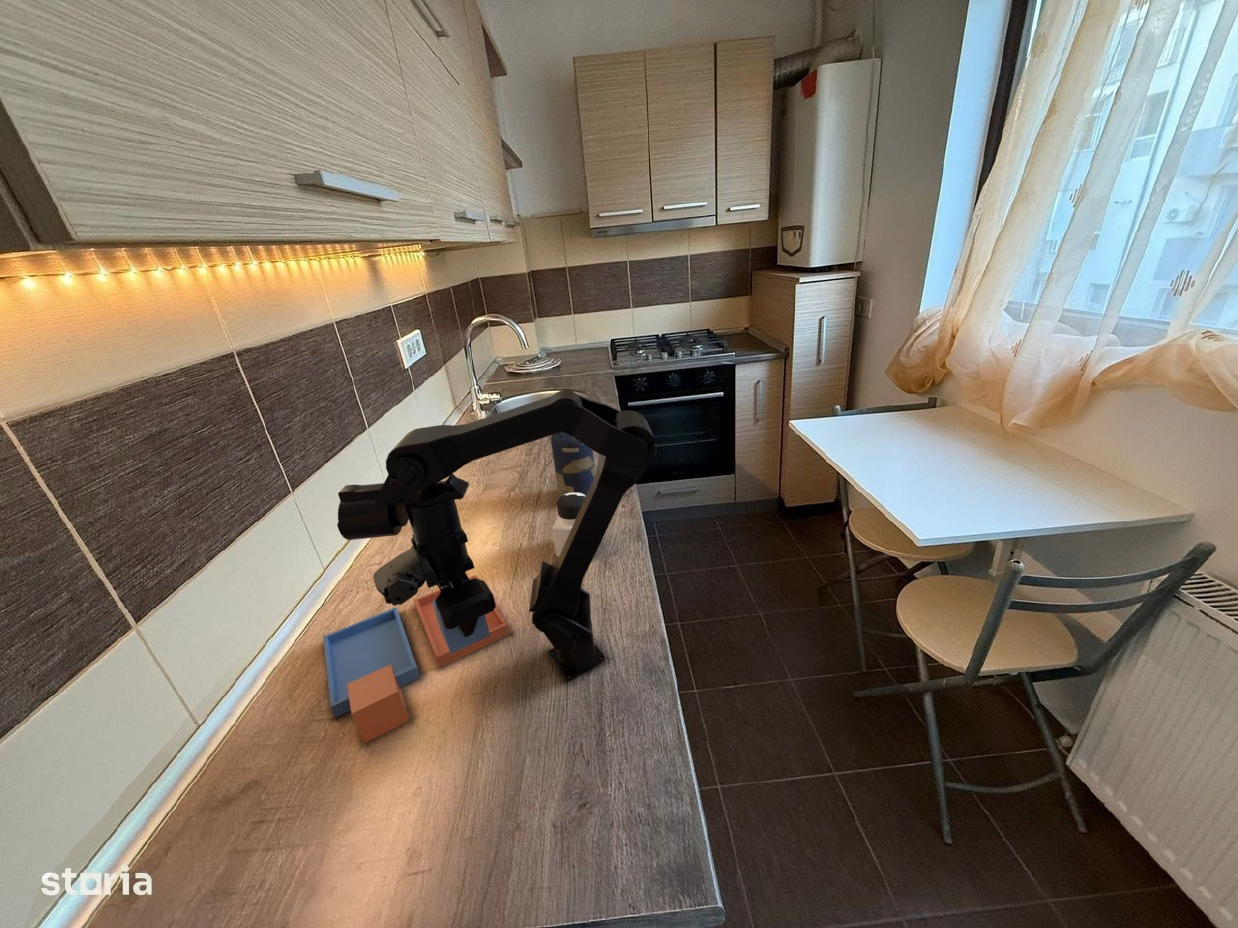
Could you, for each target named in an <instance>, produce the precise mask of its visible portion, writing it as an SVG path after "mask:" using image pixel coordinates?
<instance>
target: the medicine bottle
mask: <svg viewBox="0 0 1238 928" xmlns="http://www.w3.org/2000/svg"><path fill="white" fill-rule="evenodd" d="M585 497H586V496H585V495H584V494H582V493H567V494H564V495H562V496H561V497H560V496H559V497H558V498H557V500H556V509H557V516H558V517H557V519H556V520H555V523H554V524H553V526H552V528H551V529H552V536H553V541H554V542H553V543H554V549H555V554H556V557H557V558H558V557H559V556H560V553H561V551H562V549H563V547H564V544H565V542H566V540H567V538H568V535H569V533H570V531H571V529H572V526H573V524H574V522H575V520H576V518H577V515H578V513H579V511H580V509H581V506H582V504H583V502H584V500H585Z"/></svg>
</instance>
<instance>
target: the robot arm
mask: <svg viewBox="0 0 1238 928" xmlns="http://www.w3.org/2000/svg"><path fill="white" fill-rule="evenodd" d="M560 432H564V433H566V434H568V435H570V436H573V437H574V438H576V439H577V440H579V441H580V442H582V443H583V444H585V445H586V446H588V447H589V448H591V449H592V450H593V452H595V453H597V454H598V459H597V467H596V470H595V477H594V479H593V482H592V484H591V486H590V488H589V491H588V493H587V495H586V497H585V500H584V502H583V504H582V506H581V509H580V511H579V513H578V515H577V518H576V520H575V522H574V524H573V526H572V529H571V531H570V533H569V535H568V538H567V540H566V542H565V544H564V547H563V549H562V551H561V553H560V556H559V557H557V559H556V560H555V561H553V562H552V563H551V564H550V563H548V562H546V561H541V563H540V569H539V572H538V574H537V576H536V577H534V578H533V579H532V585H531V586H532V587H531V592H530V593H531V595H530V600H529V609H528V611H529V613H531V614H532V615H531V623H532V625H534V627H535V629H537V630H538V631H539V632H541V633H543V634H544V635H545V637H546V639H547V640H548V641H549V642H550V644H551V646H552V647H553V648H551V649H549V650H548V656H549V657H550V659H551V660H552V662H553V663H554V664H555V666H556V667H557V669H558V671H559V672H560V673H561V675H562V676H563V678H564V679H565V680H566V681H568V682H569V681H572V680H573V679H575V678H577V677H579V676H580V675H582V674H584V673H586V672H588V671H589V670H591V669H593V668H595V667H597V666H598V665H600V664H601V663H604V662H605V660H606V656H605V654H604V653H603V652H602V651H601V649H600V648H599V647H598V646H597V644H595V637H594V630H593V624H592V623H593V622H592V610H591V608H592V607H591V594H590V592H588V591H587V590H585V589H583V588H582V587H583V581H584V579H585V577H586V574H587V572H588V569H589V568H590V566H591V563H592V562H593V559H594V557H595V555H596V553H597V551H598V549H599V547H600V545H601V543H602V540H603V539H604V536H605V534H606V532H607V530H608V528H609V526H610V524H611V522H612V521H613V520H612V519H613V517H614V516H615V513H616V511H617V509H618V507H619V506H620V503H621V501H622V498H623V496H624V495H625V493H627V491H629V490H630V489H631V488H632V487H633V486H634V485H636V484H638V482H639V481H640V480H641V479H642V478H643V476H644V475H645V473H646V472H647V471H648V469H649V467H650V466H651V465H652V464H653V462H654V460H655V459H656V456H657V453H658V445H657V441H656V439H655V437H654V435H653V432H652V430H651V428H650V425H649V421H648V420H647V419H646V417H645V416H644V415H643V414H641V413H639V412H637V411H636V410H635V411H634V410H630V409H629V410H628V409H627V410H619V409H618V408H615V407H613V406H611V405H608V404H606V403H604V402H600V401H596V400H593V399H590V398H586V397H585V396H582V395H581V394H578V393H576V392H574V391H573V390H568V389H564V390H559V391H557V392H555V393H554V394H553V395H549V396H547V397H544V398H540V399H538V400H535V401H532V402H529V403H526V404H523V405H519V406H516V407H514V408H511V409H507V410H505V411H502V412H499V413H496V414H492V415H489V416H487V417H484V418H480V419H477V420H475V421H471V422H468V423H463V424H457V425H455V424H454V425H453V424H452V425H451V424H439V425H432V426H424V427H419V428H414V429H412V430H411V431H408V432H407V433H406V435H404V437H402V439H400V441H399V442H398V443H397V444H396V445H395V446H394V447H393V448H392V449H391V451H390V452H388V455H387V457H386V460H385V469H386V472H387V476H386V479H385V480H384V482H382V483H381V482H380V483H372V484H346V485H344V487H342V489H341V490H340V491H338V492H337V496H338V498H339V504H338V509H337V523H336V525H337V529H338V531H339V533H340V535H341V536H342V539H343V538H344V539H345V540H347V541H356V540H365V539H374V538H385V537H393V536H394V537H395V536H398V535H399V534H400V533H401V531H402V529H403V527H406V526H407V525H408V523H409V524H410V528H411V532H412V535H411V536H412V537H411V538H410V542H411V545H412V546H411V547H410V548H409V549H407V550H406V551H404V552H402V553H400V554H398V555H396V556H395V557H394V558H392V559H391V560H389V561H388V562H387V563H385V564H383V565H382V566H381V567H379V568H378V569H377V570H376V571H375V572H374V574H373V576H372V579H373V582H374V585H375V588H376V591H378V593H380V595H381V596H383V598H384V601H385V603H386V604H387V605H392V606H393V607H394V606H395V607H397V606H399V605H403V604H405V603H406V602H408V601H409V600H410V599H412V598H413V597H415V596H416V595H417V594H418V592H419V589H420V588H422V586H424V585H425V584H426V586H427V588H428V589H430V588H433V587H435V586H437V587H438V590H439V589H440V591H441V593H440V594H439V596H438V597H437V599H436V600H435V604H436V608H437V610H438V613H439V616H440V618H441V620H442V622H443V625H444V627H445V629H453V628H456V627H458V626H459V628H460V629H461V631H462V633H463V634H464V636H465V637H468V636H470V635H472V634H473V633H474V630H475V627H476V624H477V621H478V618H479V617H480V616H483V615H485V614H487V613H489V612H492V611H493V610H494V609H495V607H497V605H496V601H495V596H494V594H493V592H492V591H491V589H490V587H489V586H488V584H487V583H486V582H485V580H482V579H480V578H478V579H477V578H475V579H472V580H470V579H469V576H468V574H467V572H469V571H470V570H473V569H475V564H474V561H473V559H472V557H471V556H470V555H469V552H468V549H467V545H466V543H469V540H468V539H469V538H468V535H467V533H466V532H465V531H464V529H463V527H462V523H461V520H460V516H459V511H458V507H457V503H456V500H462V499H464V497H465V496H466V493H467V491H468V488H469V486H470V484H469V482H468V481H466V480H465V479H463V478H460V477H458V476H456V475H455V474H454V473H456V472H458V471H459V470H460V469H462V468H463V467H464V466H466V465H468V464H470V463H472V462H473V461H476V460H480V459H483V458H486V457H489V456H492V455H495V454H498V453H501V452H505V451H508V450H510V449H514V448H516V447H520V446H523V445H526V444H529V443H532V442H536V441H538V440H541V439H545V438H547V437H550V436H552V435H554V434H557V433H560Z"/></svg>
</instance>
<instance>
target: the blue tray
mask: <svg viewBox="0 0 1238 928" xmlns="http://www.w3.org/2000/svg"><path fill="white" fill-rule="evenodd" d="M322 639H323V650H324V659H325V669H326V675H327V676H326V679H327V688H328V696H329V697H328V699H329V705H330V709H331V711H332V714H333V716H334V718H338V717H341V716H342V715H345V714H347V713H349V712H351V708H350V701H349V695H348V688H347V684H349V683H351V682H353V681H355V680H358V679H360V678H362V677H364V676H366V675H369V674H371V673H373V672H375V671H377V670H380V669H382V668H384V667H386V666H388V665H391V666H392V668H393V671H394V674H395V677H396V679H397V682H398V685H399V687H400V688H401V687H403V686H405V685H407V684H409V683H411V682H413V681H415V680H418V679H419V678H421V676H420V672H419V670H418V666H417V663H416V661H415V658H414V655H413V651H412V648H411V645H410V643H409V640H408V637H407V634H406V630H405V627H404V625H403V622H402V618H401V616H400V613H399V610H398V607H397V606H395V607H393V608H390V609H387V610H385V611H382V612H380V613H378V614H376V615H375V614H374V615H373V616H369V617H368V618H365V619H363V620H359V621H358V622H356V623H352V624H350V625H347V626H346V627H343V628H341V629H338V630H336V631H333V632H330V633H328V634H326V635H322Z"/></svg>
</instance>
